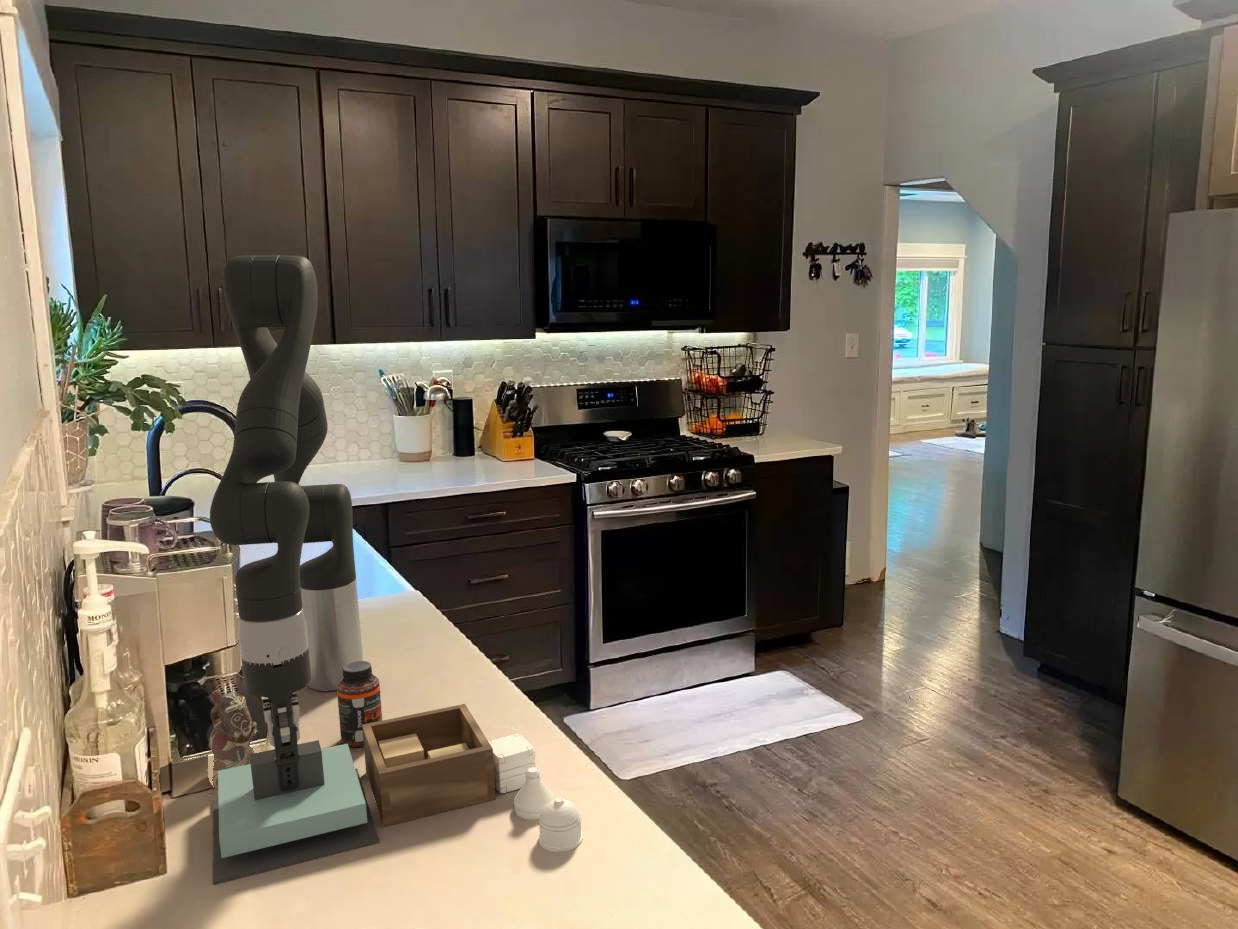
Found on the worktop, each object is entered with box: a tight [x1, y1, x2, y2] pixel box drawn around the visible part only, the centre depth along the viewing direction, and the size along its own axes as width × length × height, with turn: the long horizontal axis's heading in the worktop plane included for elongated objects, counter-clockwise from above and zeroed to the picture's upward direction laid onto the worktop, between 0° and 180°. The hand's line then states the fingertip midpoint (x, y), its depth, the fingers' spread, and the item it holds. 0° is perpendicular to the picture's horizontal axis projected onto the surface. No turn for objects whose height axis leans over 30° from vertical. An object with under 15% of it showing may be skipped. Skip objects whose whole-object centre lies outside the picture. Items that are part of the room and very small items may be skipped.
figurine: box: [208, 689, 258, 790], centre depth 124 cm, size 7×7×12 cm
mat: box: [212, 767, 380, 885], centre depth 114 cm, size 18×18×1 cm
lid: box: [217, 739, 367, 858], centre depth 113 cm, size 16×16×7 cm
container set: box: [488, 733, 584, 853], centre depth 115 cm, size 20×5×6 cm, turn 29°
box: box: [362, 703, 496, 828], centre depth 121 cm, size 14×14×7 cm
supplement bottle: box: [336, 660, 383, 748], centre depth 133 cm, size 6×6×11 cm
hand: (288, 781), depth 113 cm, fingers closed on lid, 3 cm apart
